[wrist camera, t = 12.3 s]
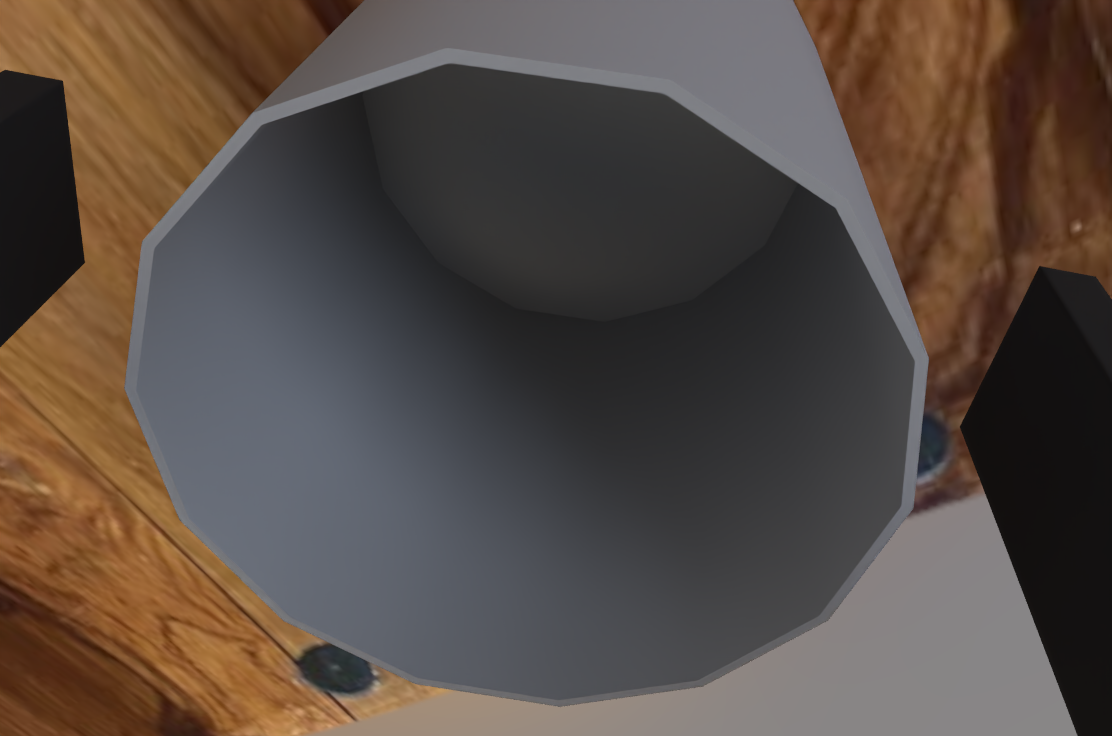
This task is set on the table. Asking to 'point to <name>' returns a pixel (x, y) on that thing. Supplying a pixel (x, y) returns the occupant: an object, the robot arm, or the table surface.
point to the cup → (537, 346)
